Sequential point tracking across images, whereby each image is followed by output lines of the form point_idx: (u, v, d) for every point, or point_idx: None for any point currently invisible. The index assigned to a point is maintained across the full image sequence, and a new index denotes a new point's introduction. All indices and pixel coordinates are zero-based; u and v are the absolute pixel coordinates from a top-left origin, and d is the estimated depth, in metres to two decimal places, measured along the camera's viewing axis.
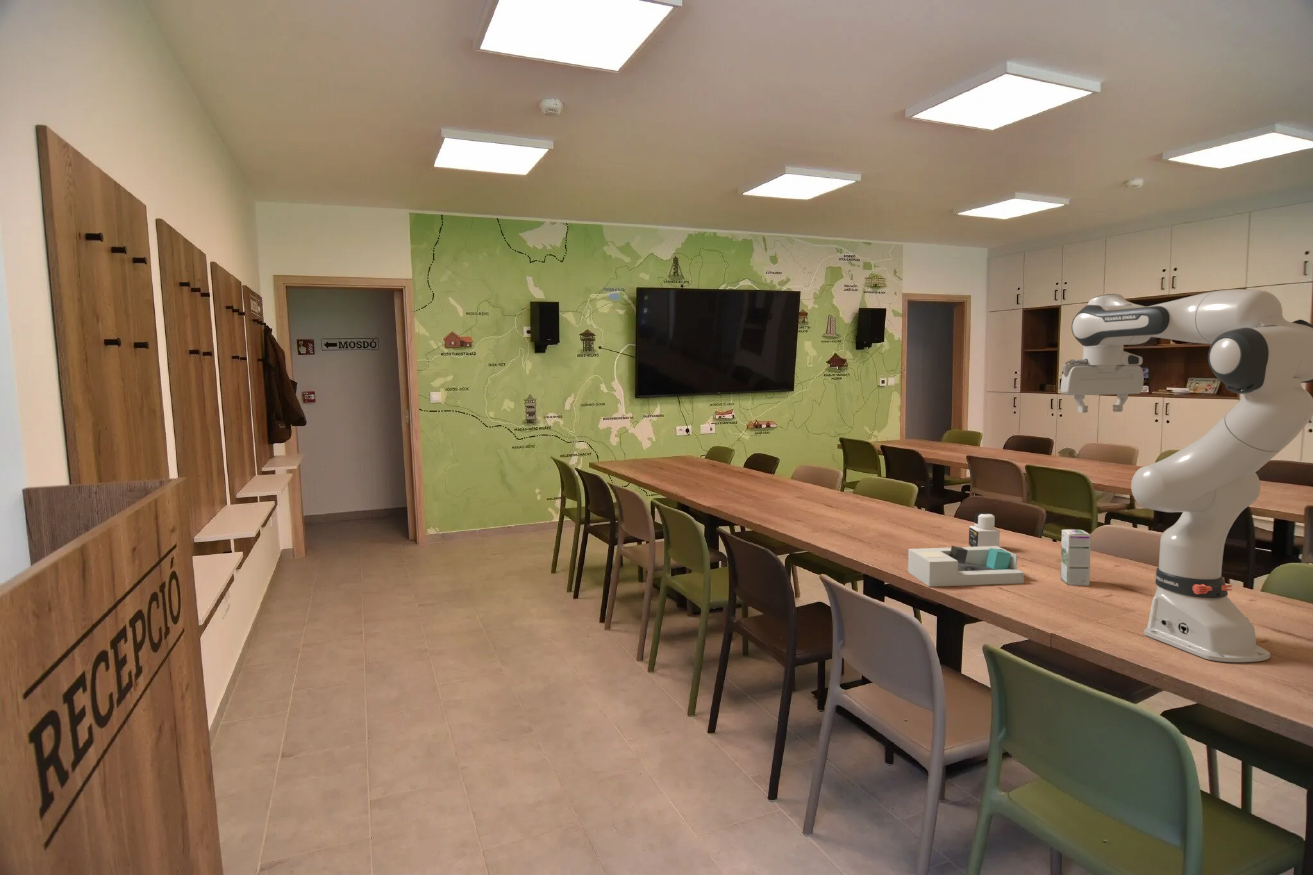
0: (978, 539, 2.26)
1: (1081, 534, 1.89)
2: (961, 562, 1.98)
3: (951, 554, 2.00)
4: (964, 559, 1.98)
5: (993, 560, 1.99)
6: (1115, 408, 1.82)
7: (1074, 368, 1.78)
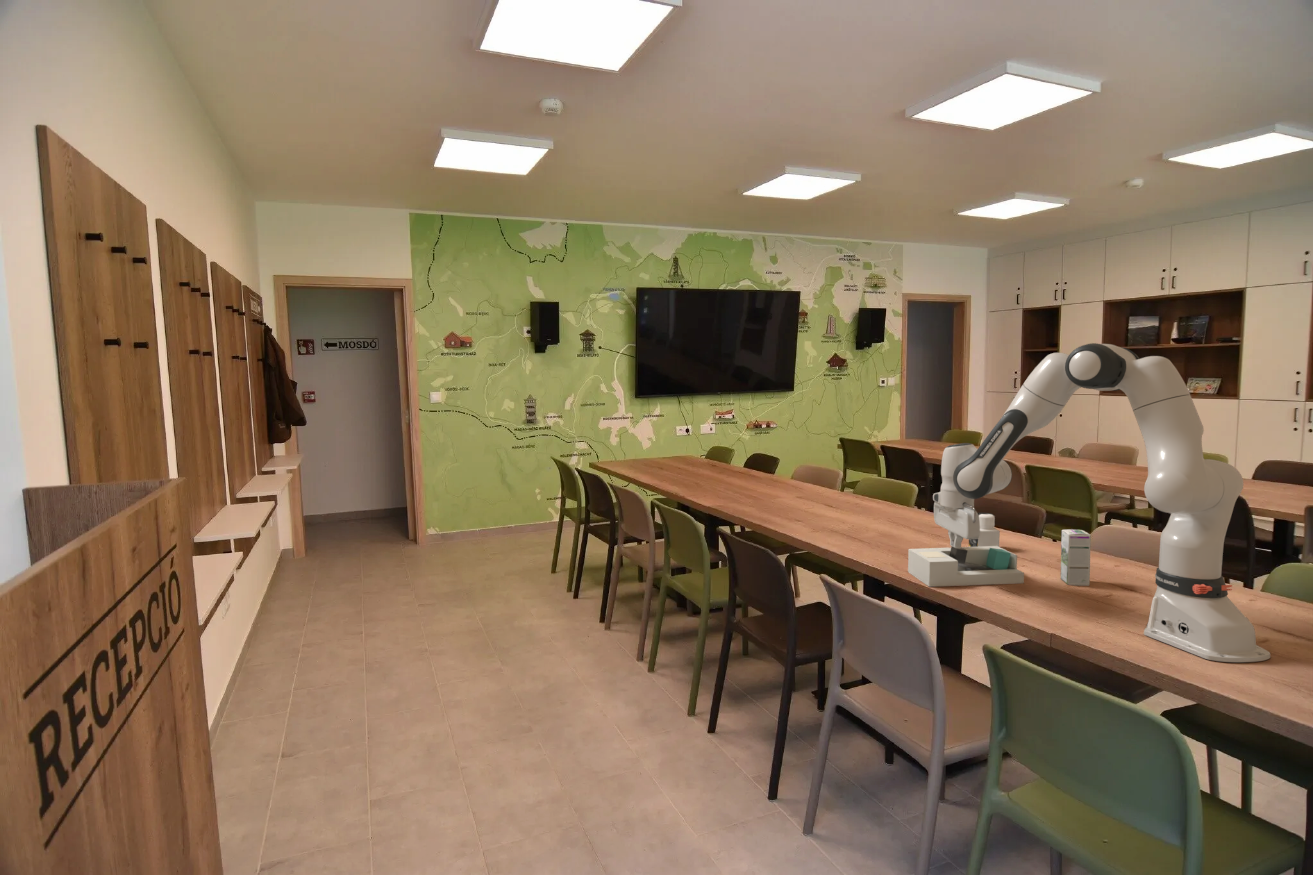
0: (978, 539, 2.26)
1: (1081, 534, 1.89)
2: (961, 562, 1.98)
3: (951, 554, 2.00)
4: (964, 559, 1.98)
5: (993, 560, 1.99)
6: None
7: (977, 513, 1.89)
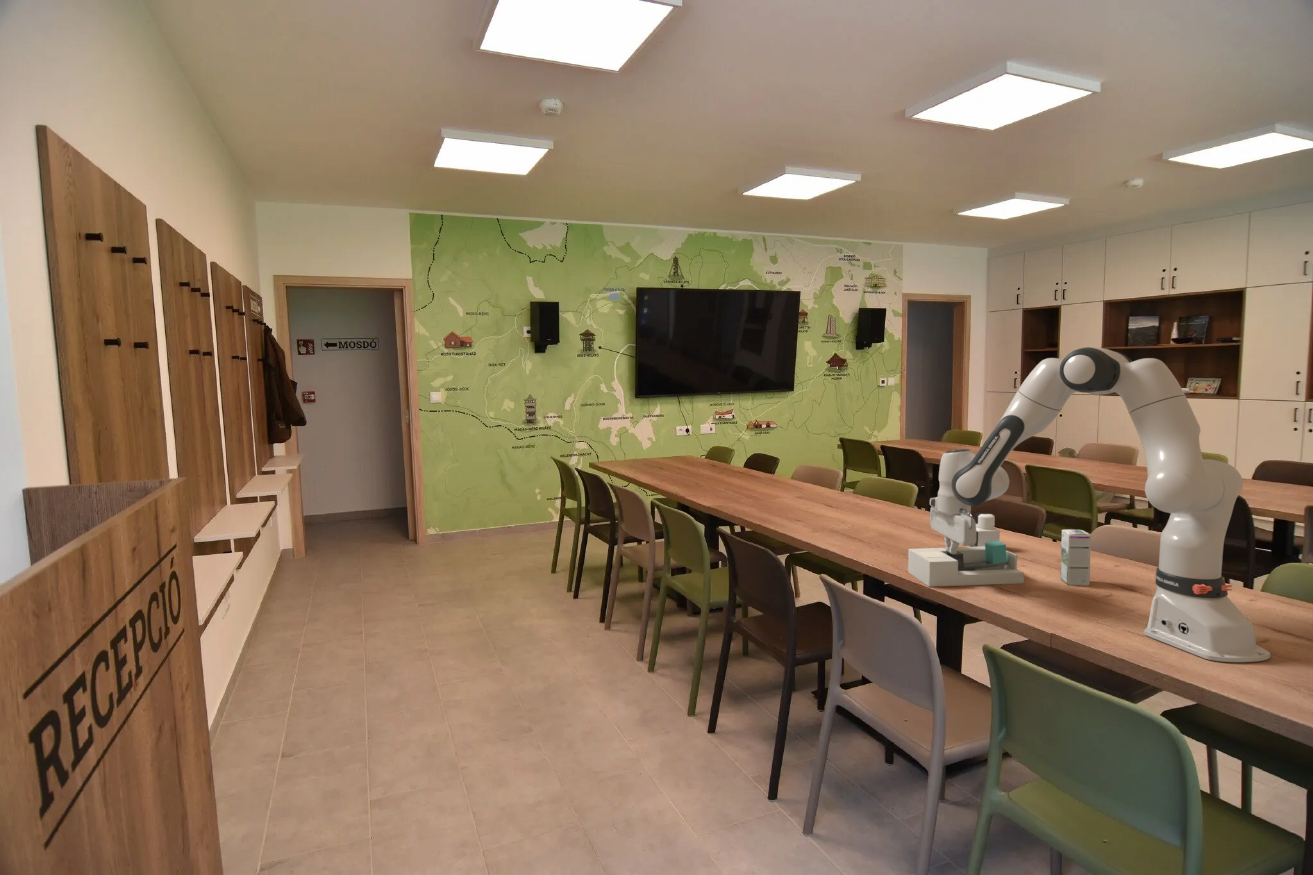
0: (978, 539, 2.26)
1: (1081, 534, 1.89)
2: (960, 566, 1.98)
3: None
4: (962, 563, 1.98)
5: (990, 555, 1.99)
6: None
7: (974, 520, 1.89)
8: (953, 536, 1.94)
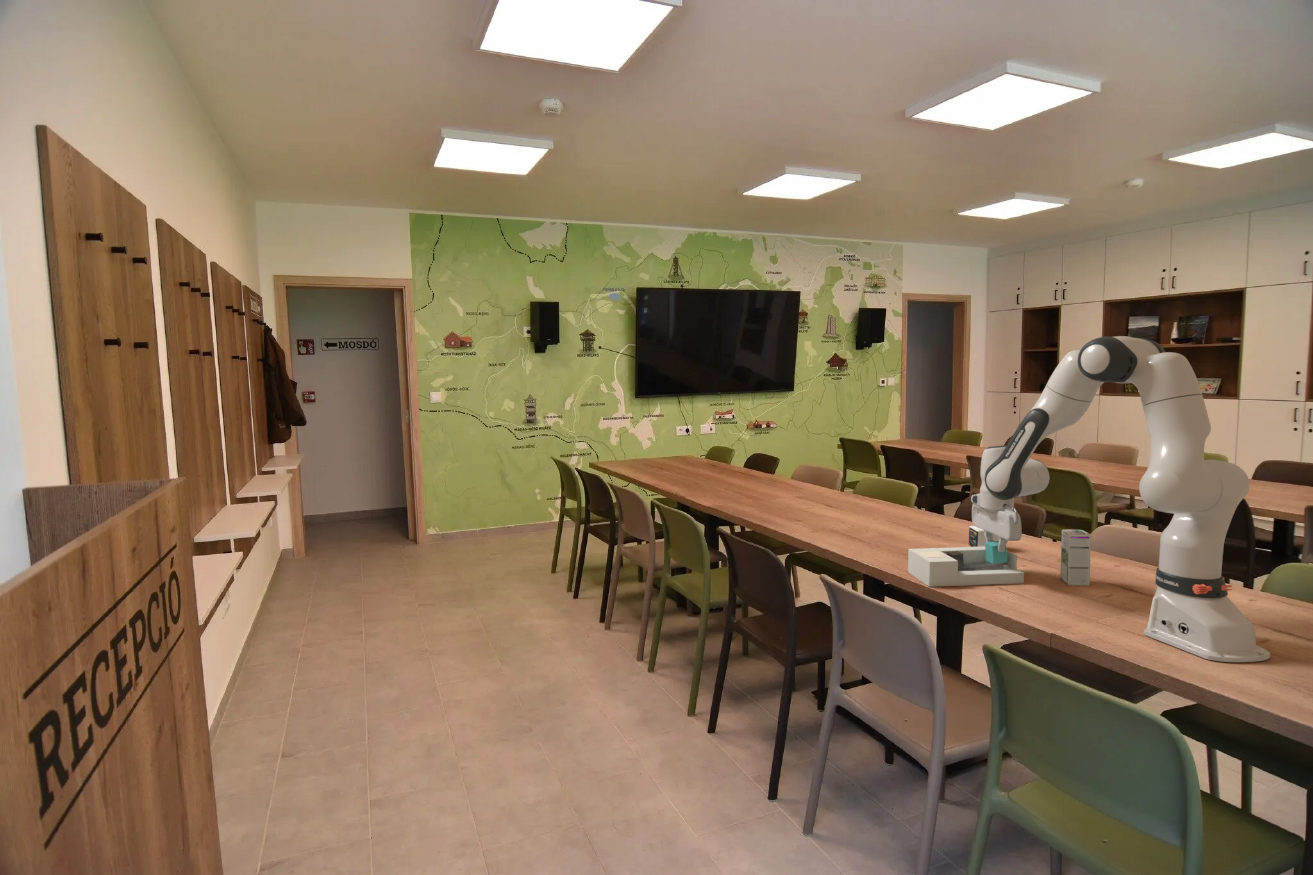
0: (978, 539, 2.26)
1: (1081, 534, 1.89)
2: (960, 567, 1.98)
3: None
4: (962, 563, 1.98)
5: (990, 555, 1.99)
6: None
7: (1019, 515, 1.90)
8: (997, 532, 1.95)
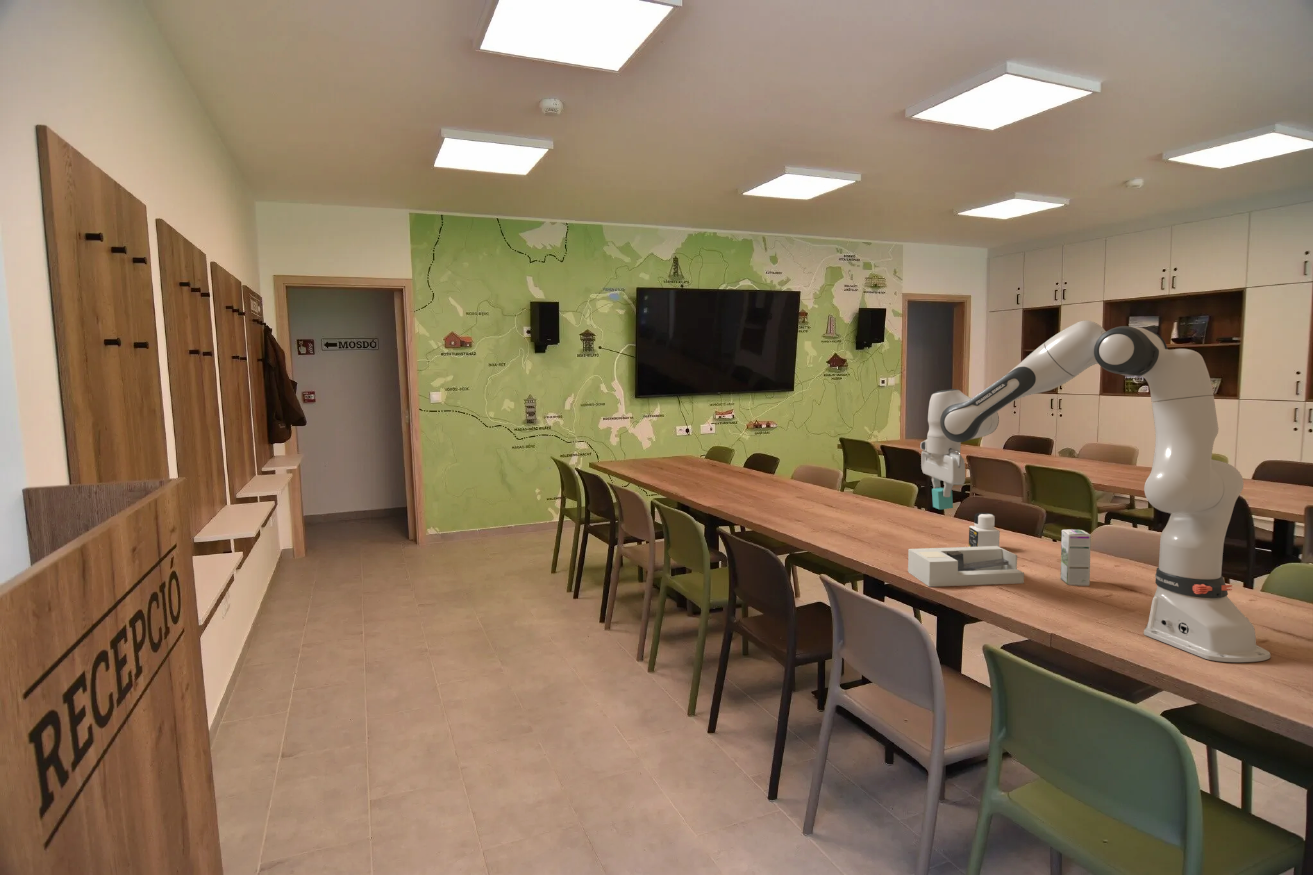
0: (978, 539, 2.26)
1: (1081, 534, 1.89)
2: (960, 567, 1.98)
3: None
4: (962, 563, 1.98)
5: (936, 501, 1.97)
6: None
7: (963, 459, 1.88)
8: (943, 477, 1.93)
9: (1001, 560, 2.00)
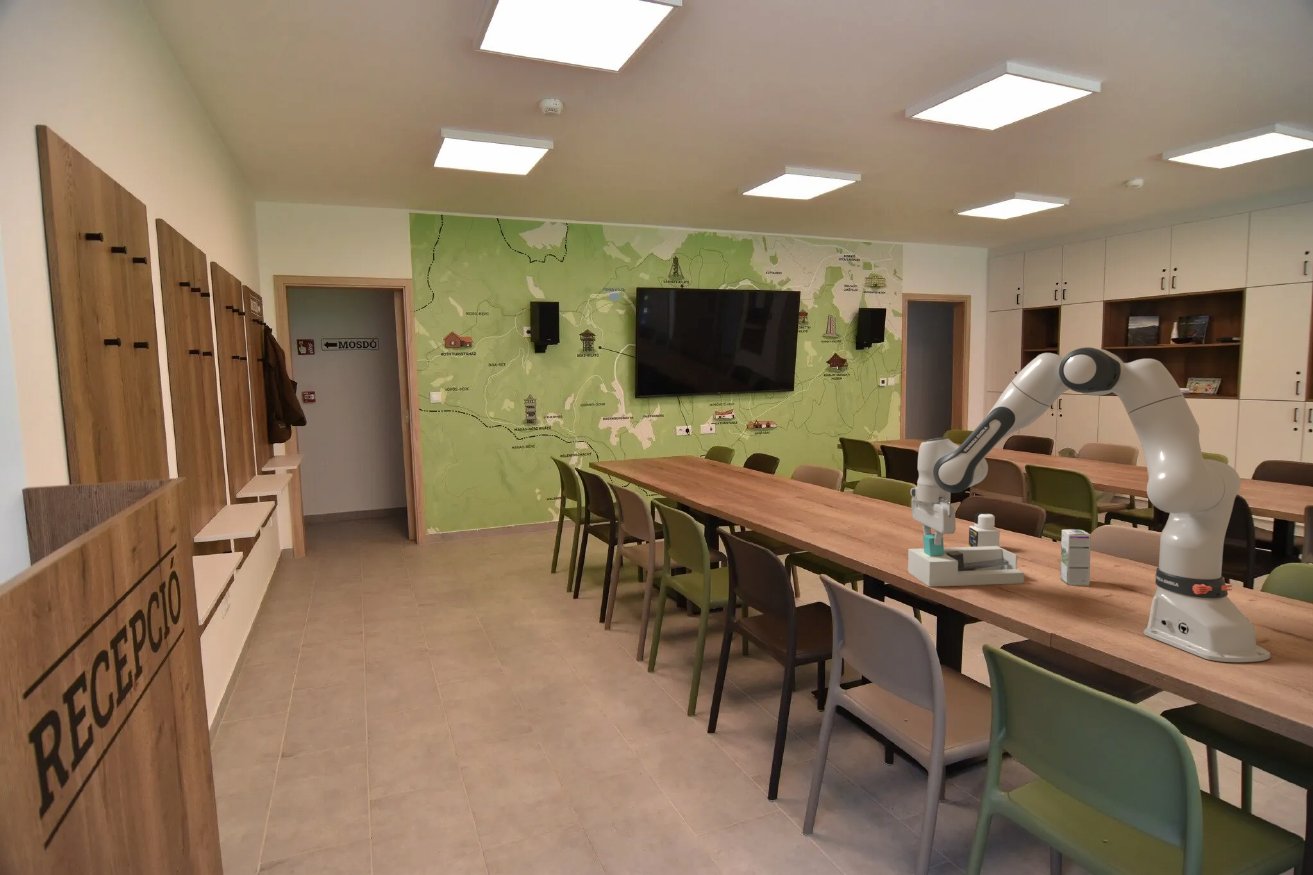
0: (978, 539, 2.26)
1: (1081, 534, 1.89)
2: (960, 567, 1.98)
3: None
4: (962, 563, 1.98)
5: (928, 547, 1.97)
6: None
7: (953, 508, 1.89)
8: (933, 525, 1.93)
9: (1001, 560, 2.00)
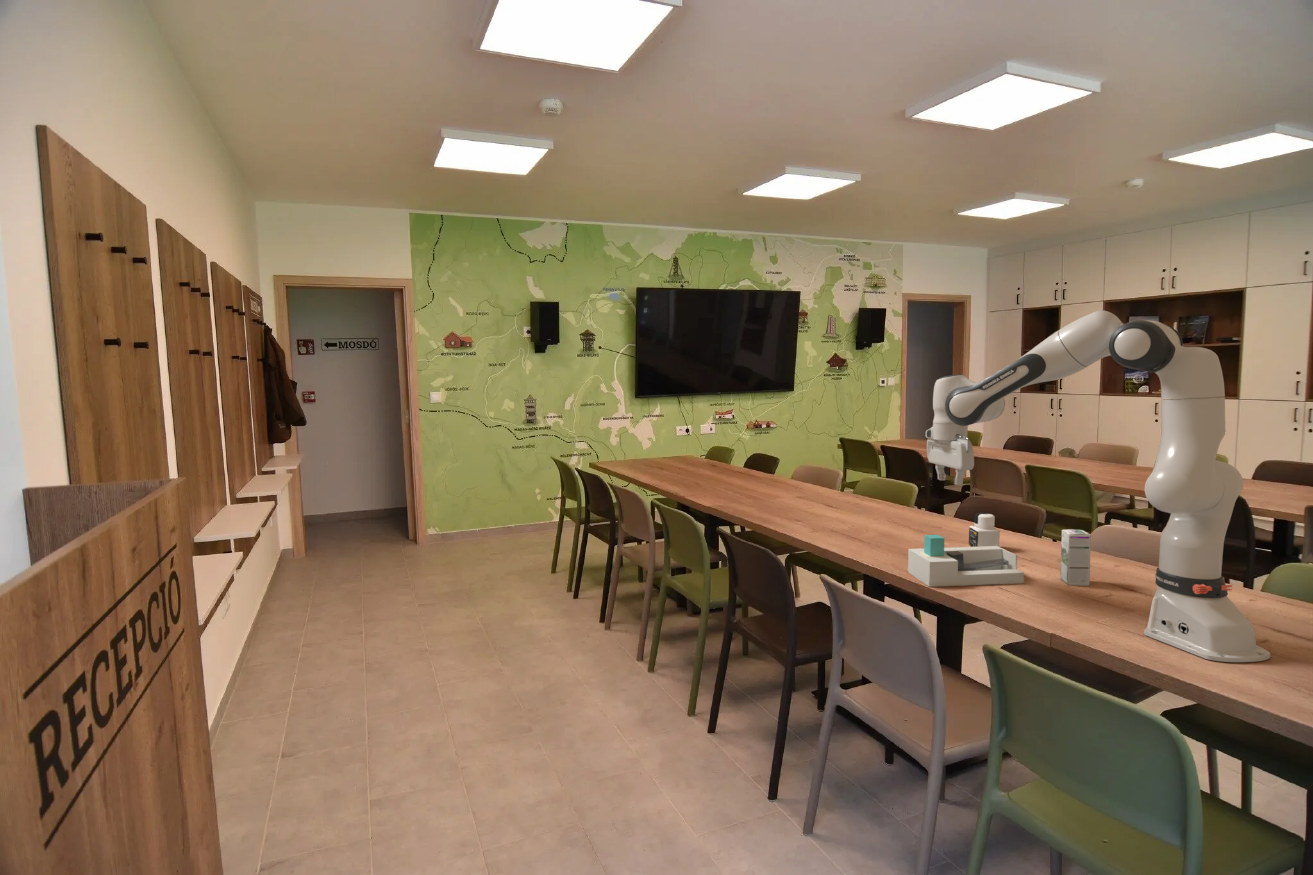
0: (978, 539, 2.26)
1: (1081, 534, 1.89)
2: (960, 567, 1.98)
3: None
4: (962, 563, 1.98)
5: (928, 547, 1.97)
6: (943, 477, 1.99)
7: None
8: (951, 463, 1.90)
9: (1001, 560, 2.00)
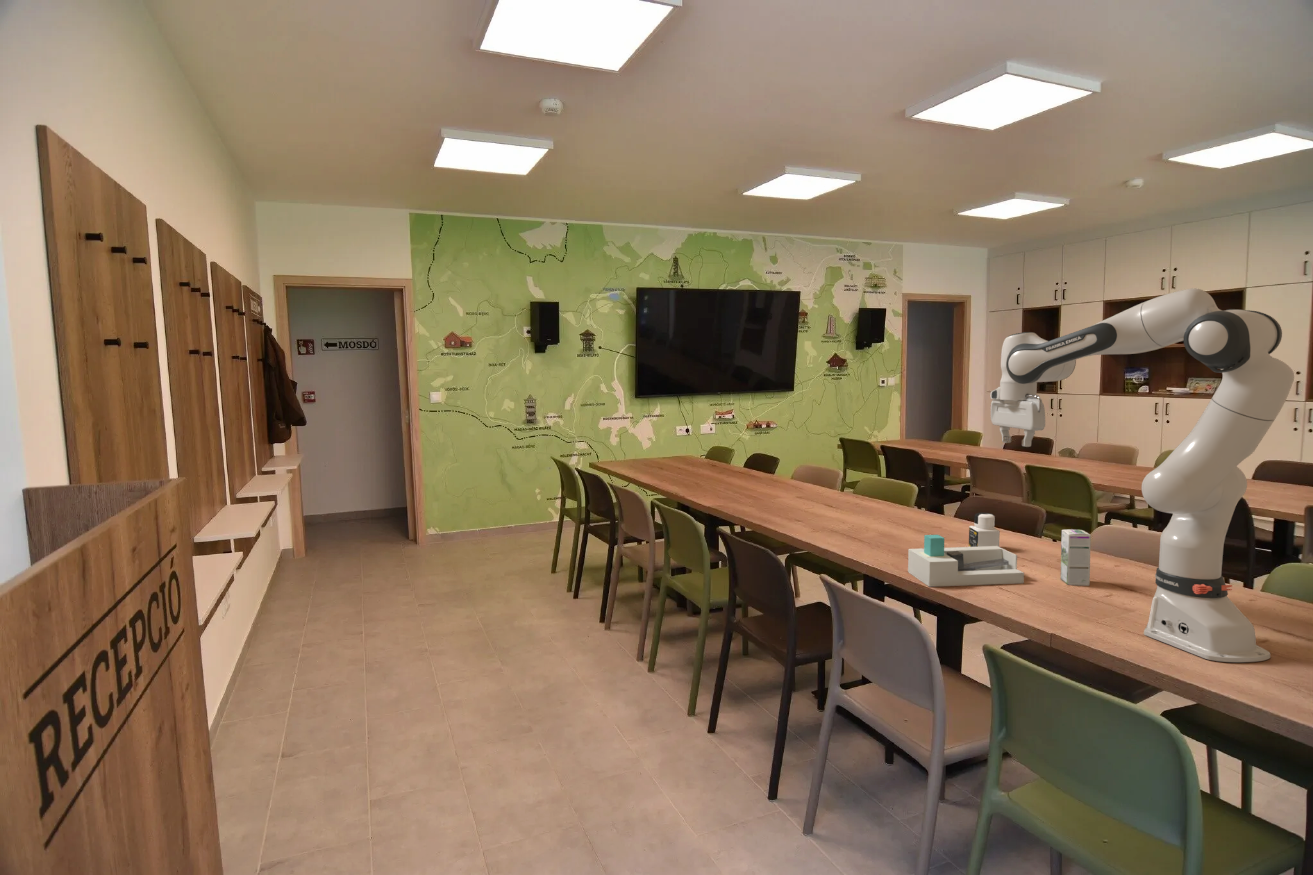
0: (978, 539, 2.26)
1: (1081, 534, 1.89)
2: (960, 567, 1.98)
3: None
4: (962, 563, 1.98)
5: (928, 547, 1.97)
6: (1008, 439, 1.93)
7: (1042, 403, 1.79)
8: (1019, 424, 1.84)
9: (1001, 560, 2.00)
